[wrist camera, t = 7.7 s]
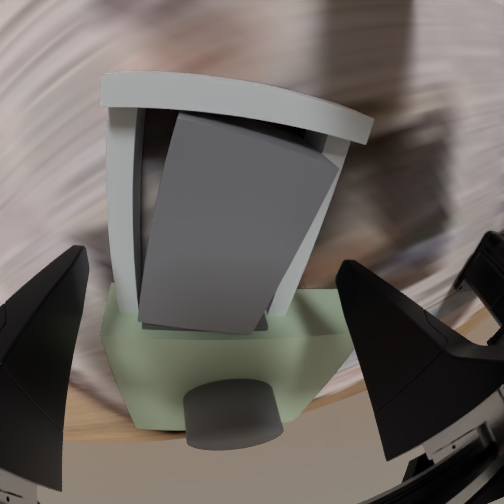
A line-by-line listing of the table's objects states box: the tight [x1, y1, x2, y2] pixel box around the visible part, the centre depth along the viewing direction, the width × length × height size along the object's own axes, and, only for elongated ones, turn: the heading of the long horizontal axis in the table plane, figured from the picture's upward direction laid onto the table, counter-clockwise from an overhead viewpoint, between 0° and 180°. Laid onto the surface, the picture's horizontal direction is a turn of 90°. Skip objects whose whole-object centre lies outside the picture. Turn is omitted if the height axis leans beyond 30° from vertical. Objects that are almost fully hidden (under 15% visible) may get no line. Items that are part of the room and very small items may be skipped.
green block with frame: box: [99, 71, 374, 450], centre depth 14 cm, size 14×24×6 cm, turn 168°
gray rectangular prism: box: [138, 110, 339, 335], centre depth 11 cm, size 5×8×4 cm, turn 160°
